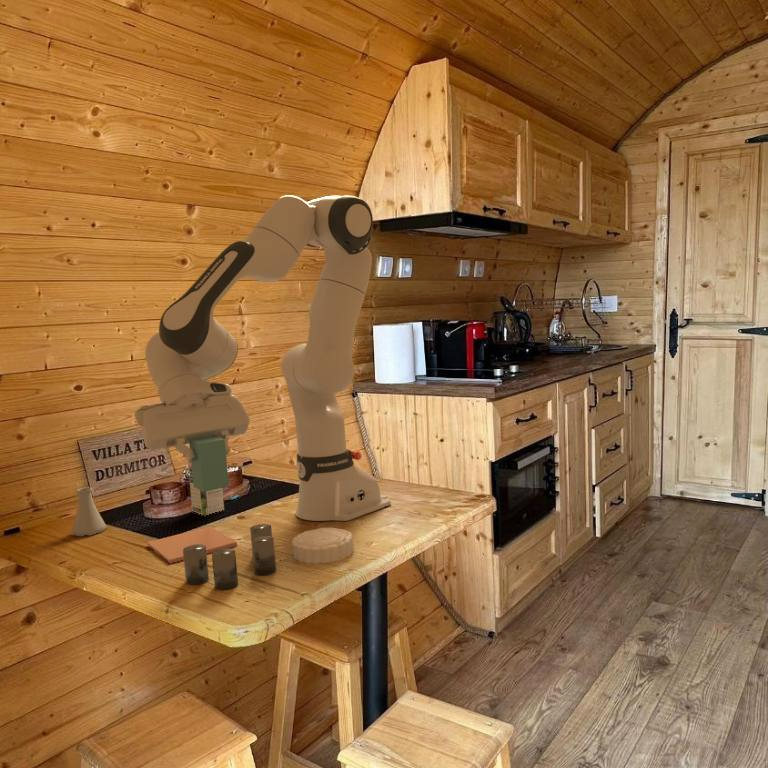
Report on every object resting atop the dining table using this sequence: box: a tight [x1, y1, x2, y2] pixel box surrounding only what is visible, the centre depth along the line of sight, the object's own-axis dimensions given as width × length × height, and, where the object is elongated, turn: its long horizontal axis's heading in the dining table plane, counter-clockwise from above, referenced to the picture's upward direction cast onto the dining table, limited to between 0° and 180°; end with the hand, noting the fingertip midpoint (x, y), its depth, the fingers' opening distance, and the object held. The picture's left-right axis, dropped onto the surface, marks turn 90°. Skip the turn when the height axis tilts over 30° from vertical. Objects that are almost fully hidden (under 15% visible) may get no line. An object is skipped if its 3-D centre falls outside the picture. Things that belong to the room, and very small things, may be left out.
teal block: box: [189, 436, 230, 492], centre depth 132 cm, size 5×5×9 cm
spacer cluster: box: [183, 523, 277, 591], centre depth 129 cm, size 18×12×6 cm, turn 126°
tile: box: [146, 526, 238, 564], centre depth 145 cm, size 14×14×1 cm
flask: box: [70, 486, 108, 537], centre depth 159 cm, size 7×7×10 cm
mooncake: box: [291, 526, 355, 565], centre depth 137 cm, size 12×12×4 cm
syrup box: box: [187, 461, 225, 517], centre depth 168 cm, size 6×6×14 cm
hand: (209, 456), depth 131 cm, fingers closed on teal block, 5 cm apart
